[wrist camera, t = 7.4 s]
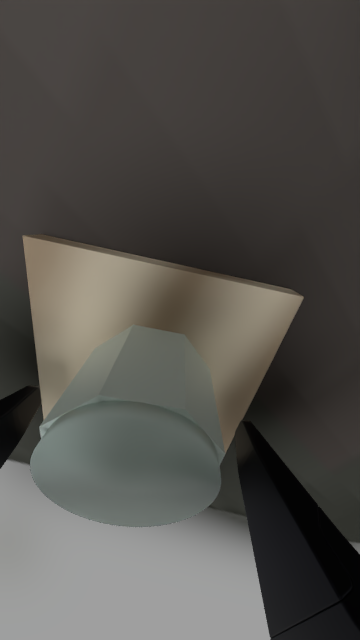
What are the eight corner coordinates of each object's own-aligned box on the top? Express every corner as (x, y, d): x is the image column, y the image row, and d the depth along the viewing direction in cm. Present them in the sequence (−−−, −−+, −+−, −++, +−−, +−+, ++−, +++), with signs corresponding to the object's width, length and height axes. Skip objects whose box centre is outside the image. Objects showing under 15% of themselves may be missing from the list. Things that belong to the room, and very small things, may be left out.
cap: (219, 341, 10) (249, 438, 5) (191, 422, 12) (195, 534, 8) (96, 317, 9) (16, 401, 5) (93, 406, 12) (38, 516, 8)
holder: (290, 289, 10) (334, 315, 7) (220, 441, 15) (229, 492, 12) (41, 234, 9) (-25, 238, 6) (55, 415, 14) (22, 464, 11)
